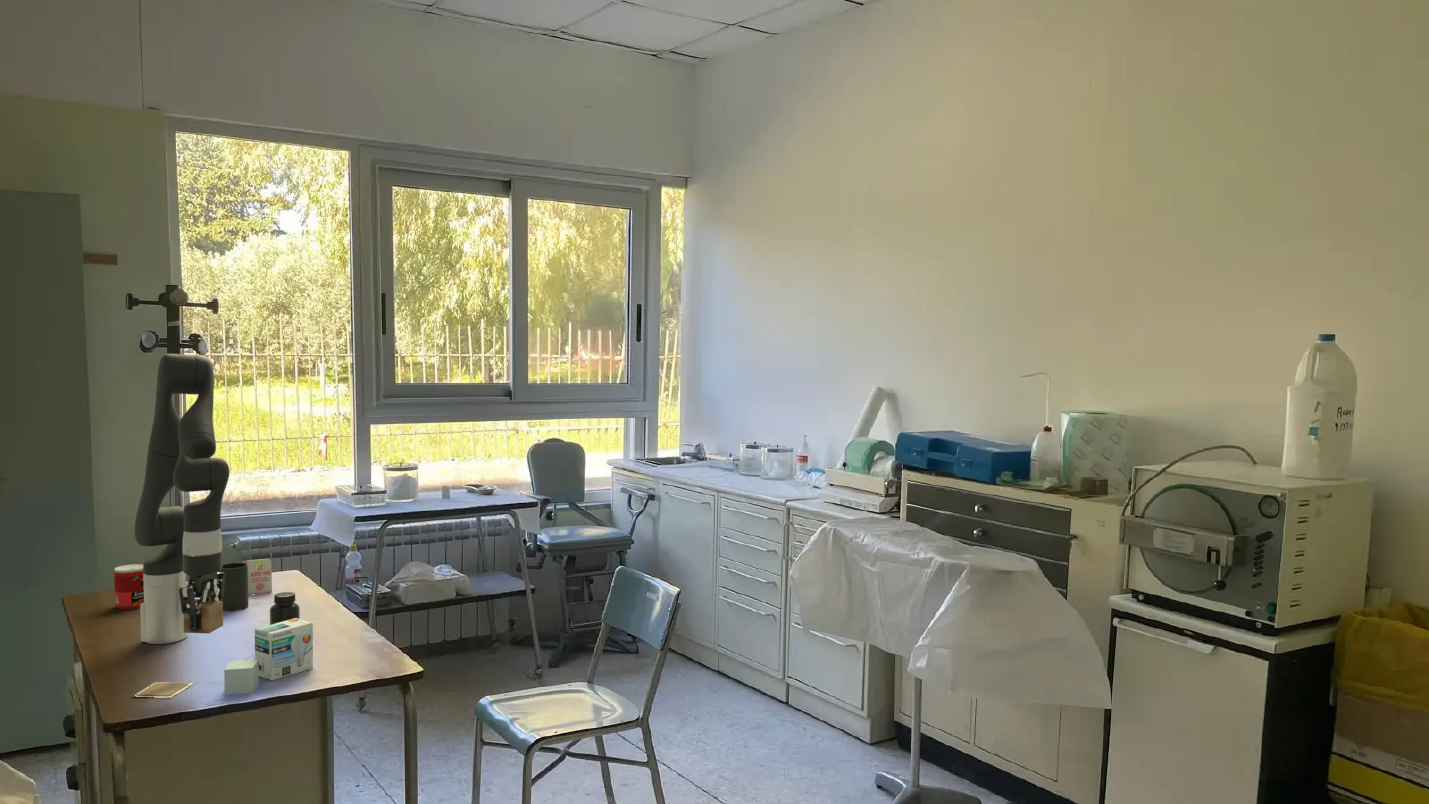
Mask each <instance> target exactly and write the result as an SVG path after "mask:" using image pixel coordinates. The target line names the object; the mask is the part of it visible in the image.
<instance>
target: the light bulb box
mask: <svg viewBox="0 0 1429 804" xmlns="http://www.w3.org/2000/svg"><path fill="white" fill-rule="evenodd" d="M313 629H314V625H313V622H311V621H307V620H304V619H301V618H300V619H298V618H294V619H291V620H287V621H283V622H279V623H275V624H272V625H270V624H269V625H265V626H261V627H257V628H254V660H257V659H258V665H259V678H260V677H261V678H263V679H266V680H268V679H269V680H268V681H271V680H272V681H275V680H276V681H277V680H278V679H281V678H284V677H288V676H291V675H296V674H298V673H301V672H305V671H307V669H308V670H312V669H314V658H313V657H314V654H313V653H314V650H313V649H314V647H313V646H314V643H313V641H314V638H313V637H314V636H313V635H314V631H313Z"/></svg>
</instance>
